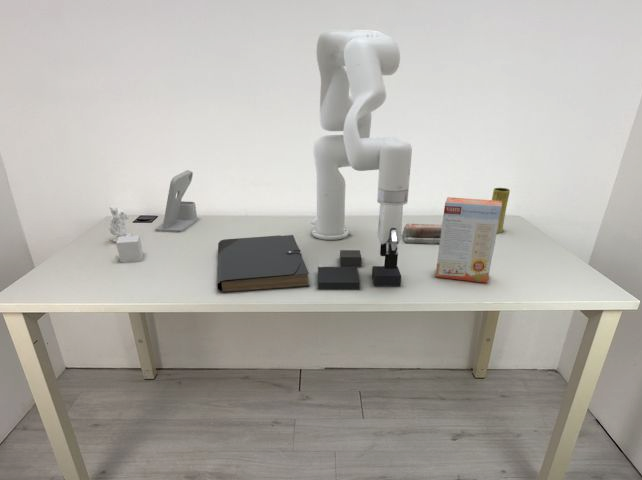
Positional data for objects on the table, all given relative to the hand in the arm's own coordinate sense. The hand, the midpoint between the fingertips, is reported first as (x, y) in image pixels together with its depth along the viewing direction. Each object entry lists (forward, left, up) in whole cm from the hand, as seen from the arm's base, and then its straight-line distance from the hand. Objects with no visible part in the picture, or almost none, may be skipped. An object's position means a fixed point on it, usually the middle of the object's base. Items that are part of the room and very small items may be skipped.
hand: (388, 261), depth 125 cm
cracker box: (+11, +18, -6) cm, 22 cm away
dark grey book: (-32, -19, -6) cm, 38 cm away
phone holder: (-87, -18, -6) cm, 89 cm away
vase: (-6, +63, -6) cm, 64 cm away
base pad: (-9, -10, -6) cm, 14 cm away
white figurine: (-82, -41, -6) cm, 91 cm away
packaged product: (-14, +38, -6) cm, 41 cm away
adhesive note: (-64, -45, -6) cm, 78 cm away
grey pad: (-17, +2, -6) cm, 18 cm away
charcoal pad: (0, 0, -6) cm, 6 cm away
